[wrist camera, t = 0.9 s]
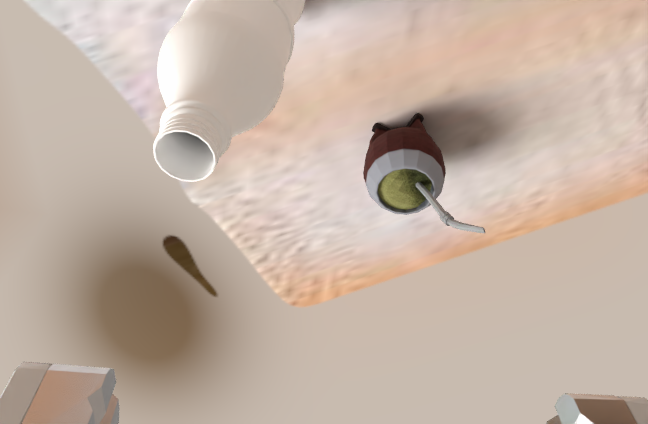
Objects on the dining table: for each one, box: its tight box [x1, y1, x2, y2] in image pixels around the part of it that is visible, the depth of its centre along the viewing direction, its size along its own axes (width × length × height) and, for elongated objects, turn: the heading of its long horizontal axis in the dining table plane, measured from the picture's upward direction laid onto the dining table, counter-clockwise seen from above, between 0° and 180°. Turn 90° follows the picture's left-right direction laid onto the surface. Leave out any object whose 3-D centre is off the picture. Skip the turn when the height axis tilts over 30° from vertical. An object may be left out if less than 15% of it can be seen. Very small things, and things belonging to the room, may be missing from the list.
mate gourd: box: [364, 113, 485, 233], centre depth 49 cm, size 8×8×15 cm
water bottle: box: [153, 0, 305, 182], centre depth 37 cm, size 7×7×25 cm
